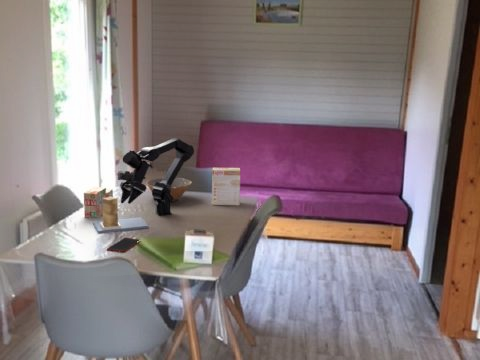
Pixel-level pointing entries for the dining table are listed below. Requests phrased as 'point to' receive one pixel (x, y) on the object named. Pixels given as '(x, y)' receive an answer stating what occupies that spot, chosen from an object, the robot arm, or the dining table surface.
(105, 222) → the pillar block
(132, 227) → the board
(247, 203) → the dining table surface
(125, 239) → the cell phone
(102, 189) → the stack of blocks
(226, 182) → the coffeecake box
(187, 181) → the bowl
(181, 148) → the robot arm
